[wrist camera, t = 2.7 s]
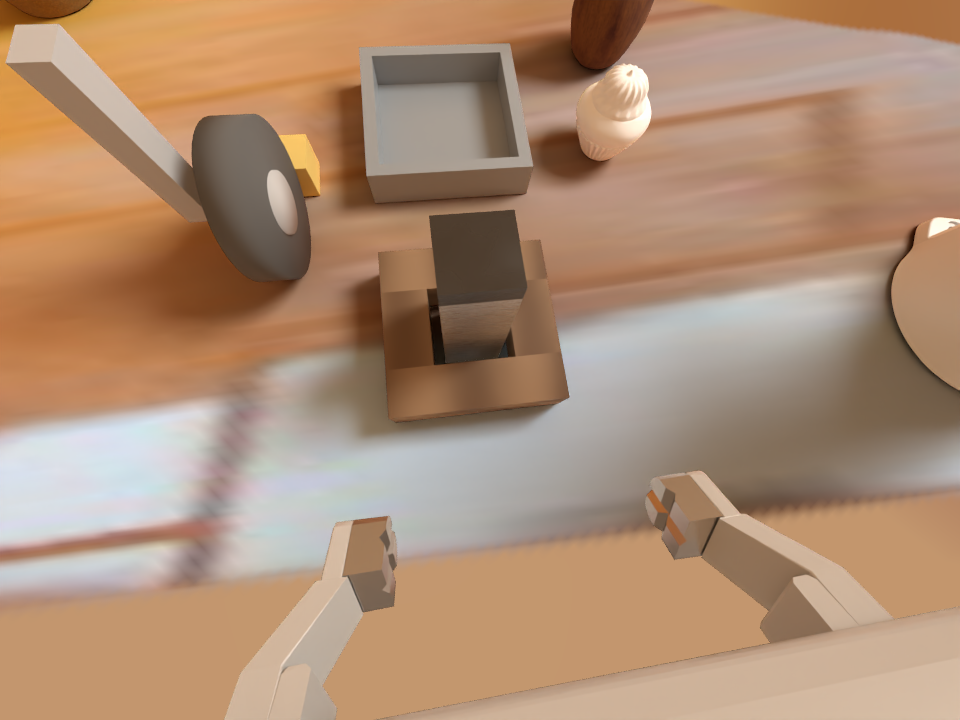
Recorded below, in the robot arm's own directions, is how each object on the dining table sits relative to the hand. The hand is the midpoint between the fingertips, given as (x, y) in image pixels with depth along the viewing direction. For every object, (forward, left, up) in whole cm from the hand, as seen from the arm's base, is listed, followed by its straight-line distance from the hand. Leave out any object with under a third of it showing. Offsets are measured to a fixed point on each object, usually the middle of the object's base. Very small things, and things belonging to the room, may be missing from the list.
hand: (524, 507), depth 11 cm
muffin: (-14, -28, -15) cm, 34 cm away
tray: (0, -30, -15) cm, 33 cm away
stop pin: (0, -11, -15) cm, 18 cm away
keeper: (0, -11, -15) cm, 18 cm away
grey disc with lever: (+14, -21, -15) cm, 29 cm away
